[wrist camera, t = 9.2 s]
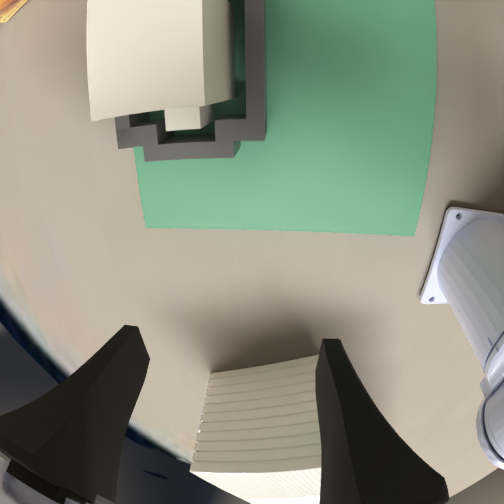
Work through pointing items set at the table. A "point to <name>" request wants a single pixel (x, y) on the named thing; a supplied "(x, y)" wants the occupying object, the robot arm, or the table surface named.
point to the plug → (160, 59)
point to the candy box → (9, 8)
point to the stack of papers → (262, 433)
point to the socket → (226, 127)
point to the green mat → (317, 127)
